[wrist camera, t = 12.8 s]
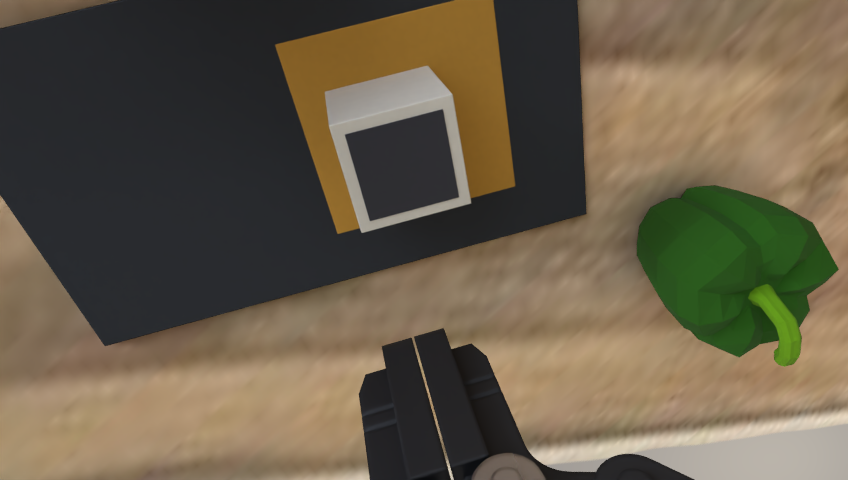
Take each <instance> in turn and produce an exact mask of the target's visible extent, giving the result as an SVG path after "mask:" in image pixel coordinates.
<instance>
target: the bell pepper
mask: <svg viewBox="0 0 848 480" xmlns="http://www.w3.org/2000/svg"><path fill="white" fill-rule="evenodd" d="M637 256H638V258H639V260H640V262H641V264H642V266H643V269H644V271H645V272H646V274H647V276H648V278H649V280H650V281H651V283H652V285H653V287H654V288H655V290H656V292H657V294H658V295H659V297H660V299H661V300H662V302H663V304H664V305H665V307H666V308H667V309H668V310H669V311H670V313H671V314H672V315H673V316H674V317H675V318H676V319H677V320H678V321H679V323H680V324H681V325H682V326H683V327H684V328H686V329H688V330H690V331H691V332H692V333H693V334H694V335H695V336H696V337H697V338H698V339H699V340H701V341H704V342H706V343H708V344H710V345H712V346H715V347H717V348H719V349H721V350H723V351H726V352H728V353H730V354H733V355H735V356H737V357H741V356H742V355H744V354H745V353H747V352H748V351H750V350H751V349H753V348H755V347H756V346H758V345H759V344H763V343H768V342H773V341H778V340H779V345H778V348H777V349H776V350H775V351H774V360H775V361H776V362H777V363H778V365H781V366H784V367H785V366H788V365H792V364H794V363H795V361H796V360H797V359H798V357H799V355H800V350H801V339H802V337H801V333H800V330H799V327H800V325H801V324H802V322H803V320H804V319H805V317H806V315H807V314H808V312H809V310H810V309H809V304H808V300H807V295H808V294H809V293H811V292H812V291H814V290H815V289H816V288H818V287H819V286H821V285H822V284H823V283H825V282H826V281H827V280H828V279H829V278H830V277H831V276H832V275H833V274H834V273H835V272H837V271H838V270H839V269H838V267H837V265H836V264H835V262H834V260H833V258H832V256H831V255H830V253H829V251H828V249H827V248H826V246H825V244H824V242H823V240H822V239H821V237H820V235H819V233H818V231H817V230H816V228H815V226H814V224H813V223H812V222H810V221H809V220H807V219H805V218H803V217H801V216H800V215H798V214H796V213H794V212H793V211H791V210H789V209H787V208H785V207H783V206H781V205H778V204H776V203H774V202H771V201H769V200H766V199H763V198H760V197H756V196H753V195H750V194H747V193H743V192H740V191H737V190H732V189H728V188H724V187H719V186H715V185H713V186H701V187H694V188H689V189H687V190H686V191H685V193H684V194H683V196H682V197H681V198H669V199H667V200H665V201H663V202H661V203H659V204H657V205H655V206H653V207H651V208H650V209H649V211H648V213H647V214H646V216H645V217H644V219H643V221H642V222H641V224H640V226H639V233H638V240H637Z"/></svg>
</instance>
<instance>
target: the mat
mask: <svg viewBox="0 0 848 480" xmlns="http://www.w3.org/2000/svg"><path fill="white" fill-rule="evenodd" d="M424 66H429V67H430V69H431V70H432V71H433V72H434V73H435V74H436V76H437V77H438V78H439V79H440V80H441V81H442V83H443V84H444V85H445V86H446V87H447V88H448V90H449V91H450V92H451V93H452V94H453V99H454V105H455V111H456V117H457V122H458V128H459V134H460V140H461V146H462V151H463V157H464V163H465V169H466V175H467V181H468V186H469V192H470V198H471V204H467V205H463V206H460V207H456V208H452V209H449V210H445V211H441V212H438V213H434V214H430V215H427V216H423V217H419V218H416V219H412V220H408V221H404V222H401V223H397V224H393V225H390V226H386V227H382V228H379V229H375V230H371V231H368V232H364V233H362V232H361V230H360V227H359V223H358V220H357V217H356V214H355V210H354V207H353V204H352V201H351V197H350V194H349V191H348V187H347V184H346V181H345V178H344V174H343V171H342V168H341V165H340V161H339V158H338V155H337V151H336V148H335V145H334V142H333V138H332V135H331V132H330V129H329V123H328V115H327V107H326V99H325V91H329V90H333V89H337V88H341V87H345V86H349V85H353V84H357V83H361V82H365V81H369V80H373V79H376V78H380V77H384V76H388V75H392V74H396V73H400V72H404V71H408V70H412V69H416V68H420V67H424ZM0 195H1V197H2V198H3V199H4V201H5V202H6V204H7V205H8V207H9V208H10V210H11V211H12V212H13V214H14V215H15V217H16V218H17V220H18V221H19V223H20V224H21V225H22V227H23V228H24V230H25V231H26V233H27V234H28V236H29V237H30V238H31V240H32V241H33V243H34V244H35V246H36V247H37V249H38V250H39V251H40V253H41V254H42V256H43V257H44V259H45V260H46V262H47V263H48V264H49V266H50V267H51V269H52V270H53V272H54V273H55V275H56V276H57V277H58V279H59V280H60V282H61V283H62V285H63V286H64V288H65V289H66V290H67V292H68V293H69V295H70V296H71V298H72V299H73V301H74V302H75V303H76V305H77V306H78V308H79V309H80V311H81V312H82V314H83V315H84V316H85V318H86V319H87V321H88V322H89V324H90V325H91V327H92V328H93V329H94V331H95V332H96V334H97V335H98V337H99V338H100V340H101V341H102V343H103V344H104V345H105V346H107V345H111V344H114V343H118V342H122V341H125V340H129V339H133V338H136V337H140V336H143V335H147V334H151V333H154V332H158V331H162V330H165V329H169V328H173V327H176V326H180V325H184V324H187V323H191V322H194V321H198V320H202V319H205V318H209V317H213V316H216V315H220V314H224V313H227V312H231V311H234V310H238V309H242V308H245V307H249V306H253V305H256V304H260V303H264V302H267V301H271V300H275V299H278V298H282V297H285V296H289V295H293V294H296V293H300V292H304V291H307V290H311V289H315V288H318V287H322V286H326V285H329V284H333V283H336V282H340V281H344V280H347V279H351V278H355V277H358V276H362V275H366V274H369V273H373V272H376V271H380V270H384V269H387V268H391V267H395V266H398V265H402V264H406V263H409V262H413V261H417V260H420V259H424V258H427V257H431V256H435V255H438V254H442V253H446V252H449V251H453V250H457V249H460V248H464V247H468V246H471V245H475V244H478V243H482V242H486V241H489V240H493V239H497V238H500V237H504V236H508V235H511V234H515V233H518V232H522V231H526V230H529V229H533V228H537V227H540V226H544V225H548V224H551V223H555V222H559V221H562V220H566V219H569V218H573V217H577V216H580V215H584V214H586V194H585V171H584V147H583V123H582V99H581V75H580V52H579V28H578V4H577V0H118V1H114V2H110V3H106V4H101V5H97V6H93V7H89V8H85V9H80V10H76V11H72V12H68V13H64V14H59V15H55V16H51V17H47V18H42V19H38V20H34V21H30V22H26V23H21V24H17V25H13V26H9V27H4V28H0Z"/></svg>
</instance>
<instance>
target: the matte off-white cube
mask: <svg viewBox="0 0 848 480" xmlns="http://www.w3.org/2000/svg"><path fill="white" fill-rule="evenodd" d="M325 99H326V107H327V115H328V123H329V129H330V132H331V135H332V138H333V142H334V145H335V148H336V151H337V155H338V158H339V161H340V165H341V168H342V171H343V174H344V178H345V181H346V184H347V187H348V191H349V194H350V197H351V201H352V204H353V207H354V210H355V214H356V217H357V220H358V223H359V227H360V230H361V232H362V233H364V232H368V231H371V230H375V229H379V228H382V227H386V226H390V225H393V224H397V223H401V222H404V221H408V220H412V219H416V218H419V217H423V216H427V215H430V214H434V213H438V212H441V211H445V210H449V209H452V208H456V207H460V206H463V205H467V204H471V198H470V192H469V186H468V181H467V175H466V169H465V163H464V157H463V151H462V146H461V140H460V134H459V128H458V122H457V117H456V111H455V105H454V99H453V94H452V93H451V92H450V91H449V90H448V88H447V87H446V86H445V85H444V84H443V83H442V81H441V80H440V79H439V78H438V77H437V76H436V74H435V73H434V72H433V71H432V70H431V69H430V67H429V66H424V67H420V68H416V69H412V70H408V71H404V72H400V73H396V74H392V75H388V76H384V77H380V78H376V79H373V80H369V81H365V82H361V83H357V84H353V85H349V86H345V87H341V88H337V89H333V90H329V91H325Z"/></svg>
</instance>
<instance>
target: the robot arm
mask: <svg viewBox="0 0 848 480" xmlns="http://www.w3.org/2000/svg"><path fill="white" fill-rule="evenodd" d="M414 338H415V342H416V345H417V349H418V352H419V356H420V360H421V363H422V367H423V370H424V374H425V377H426V381H427V385H428V388H429V392H430V395H431V399H432V403H433V406H434V410H435V413H436V417H437V420H438V424H439V428H440V431H441V435H442V438H443V442H444V446H445V449H446V453H447V456H448V460H449V463H450V467H451V471H452V474H453V478H454V480H694V479H692V478H690V477H687V476H685V475H683V474H681V473H679V472H677V471H675V470H673V469H670V468H669V467H667V466H664V465H662V464H660V463H658V462H656V461H654V460H651V459H649V458H647V457H644V456H641V455H635V454H622V455H617V456H614V457H611V458H609V459H608V460H606V461H605V462H604V463H602V464H601V465H600V467H599V468H598V470H597V472H566V471H559V470H555V469H552V468H550V467H547V466H545V465H543V464H542V463H540V462H539V461H537V460H536V459H535V458H534V457H533V456H532V455H531V454H530V452H529V451H528V450H527V448H526V446H525V444H524V442H523V439H522V437H521V435H520V433H519V430H518V428H517V426H516V423H515V421H514V419H513V416H512V414H511V412H510V409H509V407H508V405H507V402H506V400H505V398H504V395H503V393H502V392H501V389H500V386H499V384H498V382H497V379H496V377H495V375H494V372H493V370H492V368H491V365H490V363H489V361H488V358H487V356H486V355H484V354H483V353H482V352H481V351H480V350H479V349H477V348H476V347H475V346H474V345H473V344H468V345H464V346H461V347H458V348H454V349H451V347H450V345H449V342H448V339H447V336H446V333H445V331H444V329H443V328H442V329H439V330H436V331H432V332H429V333H425V334H422V335H418V336H415V337H414ZM382 350H383V356H384V361H385V366H386V369H383V370H380V371H376V372H373V373H370V374H366V375H365V378H364V381H363V384H362V387H361V390H360V393H359V398H360V406H361V414H362V421H363V429H364V437H365V444H366V452H367V460H368V468H369V475H370V480H451V478H450V475H449V471H448V467H447V464H446V460H445V456H444V453H443V449H442V445H441V442H440V438H439V434H438V431H437V427H436V423H435V420H434V416H433V412H432V409H431V405H430V402H429V398H428V394H427V391H426V387H425V384H424V380H423V377H422V373H421V369H420V366H419V362H418V359H417V355H416V352H415V348H414V345H413V341H412V338H409V339H405V340H402V341H398V342H395V343H391V344H388V345H384V346H382Z"/></svg>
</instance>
